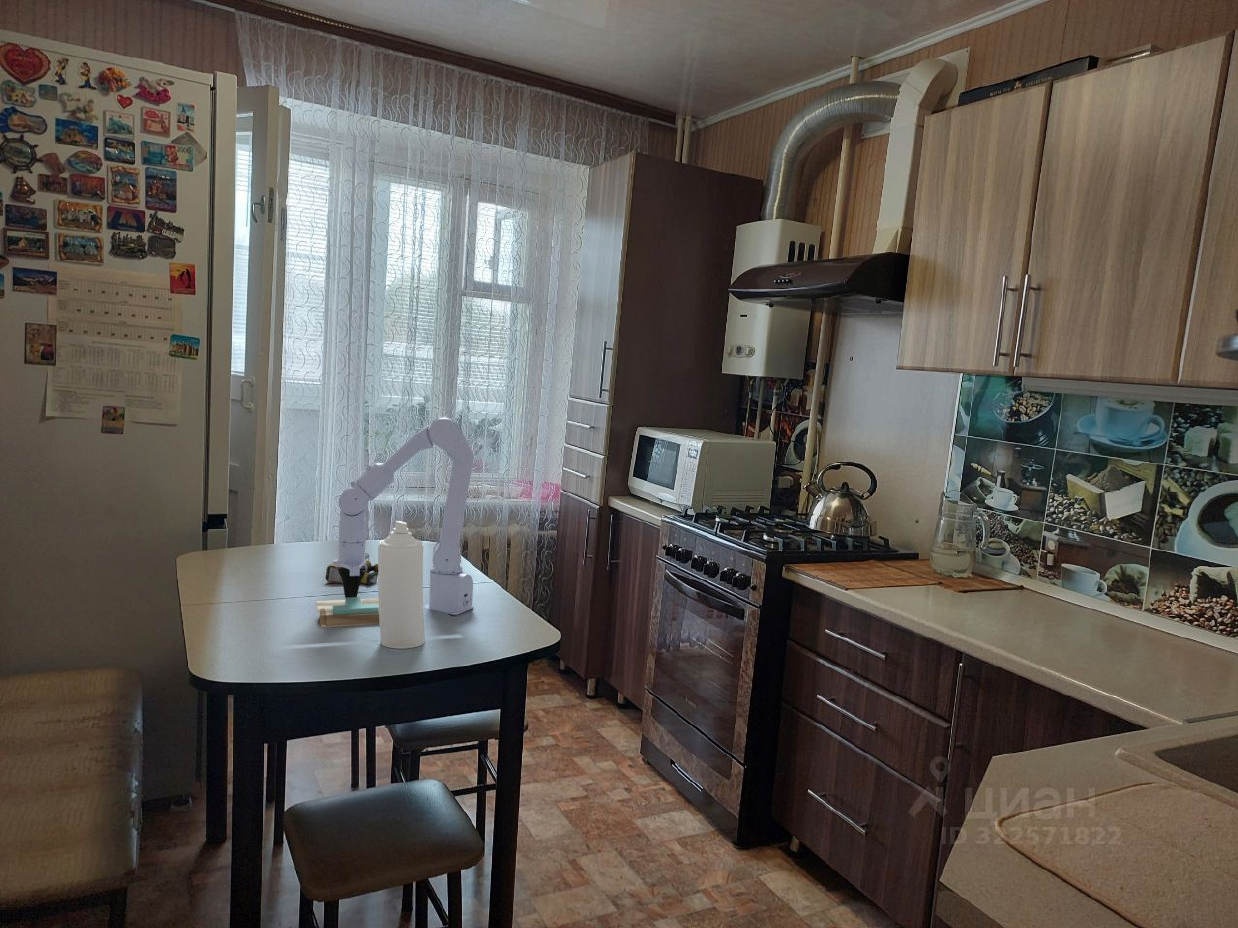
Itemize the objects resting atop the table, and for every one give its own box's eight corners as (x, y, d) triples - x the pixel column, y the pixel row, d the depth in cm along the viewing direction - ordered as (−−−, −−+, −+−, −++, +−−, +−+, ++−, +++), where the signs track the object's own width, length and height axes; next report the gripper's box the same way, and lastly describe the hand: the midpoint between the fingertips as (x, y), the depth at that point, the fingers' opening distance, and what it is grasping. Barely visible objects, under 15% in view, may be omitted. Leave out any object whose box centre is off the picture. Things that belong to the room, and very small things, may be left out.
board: (315, 603, 186) (316, 592, 186) (379, 600, 192) (379, 589, 191) (321, 629, 168) (321, 617, 168) (391, 625, 173) (391, 613, 173)
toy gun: (410, 558, 226) (357, 549, 226) (384, 574, 202) (325, 564, 202) (408, 575, 226) (355, 566, 226) (382, 592, 202) (322, 583, 202)
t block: (378, 621, 174) (378, 607, 174) (333, 623, 170) (333, 609, 170) (373, 609, 182) (373, 596, 182) (330, 611, 178) (330, 598, 178)
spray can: (436, 649, 160) (441, 524, 158) (382, 656, 154) (387, 526, 152) (416, 632, 170) (421, 514, 167) (365, 638, 164) (369, 515, 161)
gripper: (331, 534, 188) (329, 592, 189) (335, 547, 175) (334, 609, 176) (362, 534, 191) (361, 591, 192) (370, 546, 177) (368, 607, 179)
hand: (350, 600), depth 184 cm, fingers closed
